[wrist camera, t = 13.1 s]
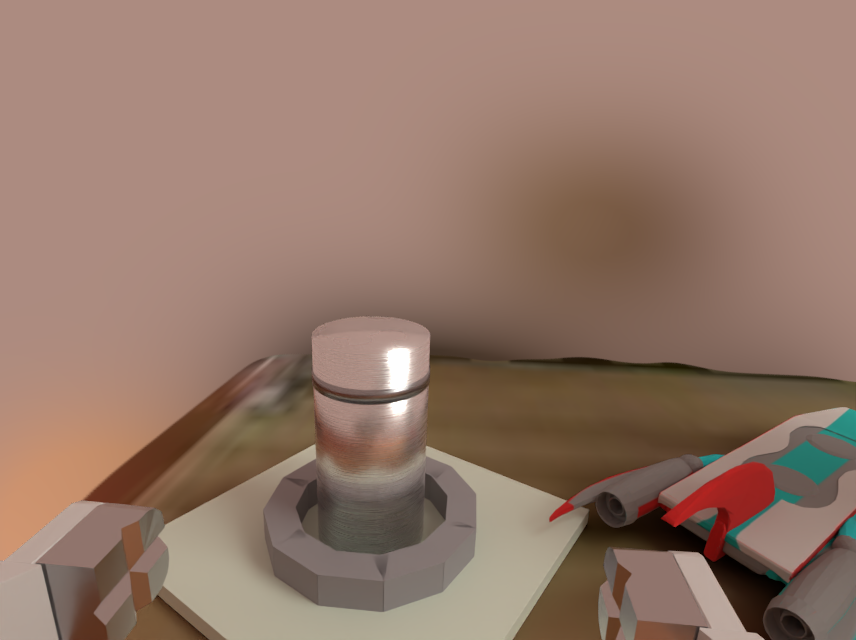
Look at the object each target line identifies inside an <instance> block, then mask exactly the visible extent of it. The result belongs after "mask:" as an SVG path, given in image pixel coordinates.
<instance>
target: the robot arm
mask: <svg viewBox="0 0 856 640" xmlns="http://www.w3.org/2000/svg"><path fill="white" fill-rule="evenodd" d="M164 528H165V525H164V520H163V515H162V512H161V511H159V510H158V509H156V508H151V507H142V506H133V505H123V504H114V503H102V502H92V501H78V502H75V503H72V504H71V505H69V507H67V508H66V509H65V510H64V511H63V512H61V513H60V514H59V515H58V516H57V517H55V518H54V519H53V520H52V521H50V522H49V523H48V524H47V525H46V526H45V527H43V528H42V529H41V530H40V531H39V532H38V533H36V534H35V535H34V536H33V537H32V538H30V539H29V540H28V541H27V542H26V543H24V544H23V545H22V546H21V547H20V548H19V549H17V550H16V551H15V552H14V553H13V554H12V555H10V556H9V557H8V558H7V559H6V560H4V561H0V640H124V639H125V638H126V637H127V635H128V634H129V633H130V631H131V630H132V629H133V627H134V626H135V625H136V623H137V622H136V611H138V610H139V609H141V608H143V607H144V606H146V605H148V604H149V603H151V602H152V601H153V600H154V598H155V597H156V596H157V594H158V593H159V591H160V590H161V588H162V586H163V583H164V581H165V578H166V575H167V573H168V566H169V552H168V547H167V546H166V544H165V543H164V542H163V541H162V540H161V539H160V537H159V535H160V533H161V532H162V530H163V529H164ZM603 566H604V569H605V573H606V576H607V579H608V580H607V581H606V582H605V583H604V584H602V585H601V586H600V593H599V601H598V613H599V626H600V633H601V637H602V640H765V639H763V638H762V637H761V636H759V635H758V634H757V633H750V632H746V630H745V628H744V627H743V625H742V623H741V621H740V620H739V618H738V616H737V614H736V613H735V611H734V609H733V607H732V606H731V604H730V602H729V600H728V599H727V597H726V595H725V593H724V592H723V590H722V588H721V586H720V585H719V583H718V581H717V579H716V578H715V576H714V574H713V572H712V571H711V569H710V567H709V565H708V564H707V562H706V560H705V558H704V557H703V556H702V555H701V554H699V553H698V552H683V551H667V552H666V551H656V550H644V549H631V548H618V547H608V549H607V551H606V553H605V559H604V565H603Z"/></svg>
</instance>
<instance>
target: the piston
mask: <svg viewBox="0 0 856 640" xmlns="http://www.w3.org/2000/svg"><path fill="white" fill-rule="evenodd" d="M429 350H430V333H429V331H428V330H427V329H426V328H425V327H424V326H422V325H420V324H417V323H415V322H412V321H408V320H404V319H398V318H391V317H378V316H377V317H376V316H369V317H368V316H366V317H352V318H344V319H339V320H334V321H331V322H328V323H325V324H323V325H320V326H319V327H317V328H316V329H315V330H314V331H313V332H312V357H313V365H312V384H313V387H314V414H315V443H316V472H317V501H318V529H319V541H320V542H322V543H324V544H325V545H327V546H329V547H330V548H332V549H334V550H335V551H344V552H355V553H366V554H377V555H382V554H385V553H389V552H392V551H396V550H399V549H402V548H406V547H409V546H413V545H416V544H420V542H421V540H422V537H423V525H424V496H425V467H426V438H427V409H428V385H429V382H430V365H429Z"/></svg>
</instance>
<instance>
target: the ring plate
mask: <svg viewBox="0 0 856 640" xmlns="http://www.w3.org/2000/svg"><path fill="white" fill-rule="evenodd" d="M565 502H566V500H563V499H561V498H558V497H556V496H553V495H551V494H548V493H546V492H543V491H540V490H538V489H535V488H533V487H530V486H528V485H525V484H523V483H520V482H518V481H515V480H512V479H510V478H507V477H505V476H502V475H500V474H497V473H495V472H492V471H490V470H487V469H484V468H482V467H479V466H477V465H474V464H472V463H469V462H467V461H464V460H462V459H459V458H456V457H454V456H451V455H449V454H446V453H444V452H441V451H439V450H436V449H434V448H431V447H428V446H426V467H425V496H424V525H423V537H422V540H421V542H420V544H416V545H413V546H409V547H406V548H402V549H399V550H396V551H392V552H389V553H385V554H382V555H377V554H366V553H355V552H344V551H335V550H334V549H332V548H330V547H329V546H327V545H325V544H324V543H322V542H320V541H319V529H318V501H317V472H316V444H314V445H312V446H311V447H309V448H307V449H305V450H303V451H301V452H299V453H298V454H296V455H294V456H292V457H290V458H288V459H286V460H285V461H283V462H281V463H279V464H277V465H275V466H273V467H272V468H270V469H268V470H266V471H264V472H262V473H260V474H259V475H257V476H255V477H253V478H251V479H249V480H247V481H246V482H244V483H242V484H240V485H238V486H236V487H234V488H233V489H231V490H229V491H227V492H225V493H223V494H221V495H220V496H218V497H216V498H214V499H212V500H210V501H208V502H207V503H205V504H203V505H201V506H199V507H197V508H195V509H194V510H192V511H190V512H188V513H186V514H184V515H182V516H181V517H179V518H177V519H175V520H173V521H171V522H169V523H168V524H166V525H165V528H164V529H163V530H162V532H161V533H160V535H159V537H160V539H161V540H162V541H163V542H164V543H165V544H166V546H167V547H168V552H169V566H168V573H167V575H166V578H165V581H164V583H163V586H162V588H161V590H160V591H159V593H158V594H157V595H158V596H159V597H160V598H162V599H163V600H164V601H165V602H166V603H167V604H169V605H170V606H171V607H172V608H173V609H174V610H175V611H177V612H178V613H179V614H180V615H181V616H182V617H183V618H185V619H186V620H187V621H188V622H189V623H190V624H192V625H193V626H194V627H195V628H196V629H197V630H198V631H200V632H201V633H202V634H203V635H204V636H205V637H206V638H208V639H209V640H513V638H514V637H515V635H516V633H517V632H518V630H519V629H520V627H521V626H522V624H523V623H524V621H525V619H526V618H527V616H528V615H529V613H530V612H531V610H532V609H533V607H534V605H535V604H536V602H537V601H538V599H539V598H540V596H541V595H542V593H543V591H544V590H545V588H546V587H547V585H548V584H549V582H550V581H551V579H552V577H553V576H554V574H555V573H556V571H557V570H558V568H559V567H560V565H561V563H562V562H563V560H564V559H565V557H566V556H567V554H568V553H569V551H570V549H571V548H572V546H573V545H574V543H575V542H576V540H577V539H578V537H579V535H580V534H581V532H582V531H583V529H584V528H585V526H586V525H587V523H588V517H589V509H586V508H584V507H579V508H576V509H574V510H572V511H570V512H568V513H566V514H564V515H561V516H560V517H558V518H556V519H555V520H553V521H552V522H549V518H550V516H551V515H552V514H553V512H554V511H555V510H556V509H558V508H559V507H560V506H561V505H563V504H564V503H565Z"/></svg>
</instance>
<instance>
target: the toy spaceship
mask: <svg viewBox="0 0 856 640" xmlns="http://www.w3.org/2000/svg"><path fill="white" fill-rule="evenodd" d="M593 502H596V503H595V506H596V509H597V513H598V514H599V516H600V517H601V519H602V520H603V521H604V522H605V523H606V524H607V525H609V526H611V527H615V528H618V527H622V526H626V525H629V524H632V523H633V522H635V520H636V519H638V518H640V517H642V516H644V515H646V514H648V513H650V512H651V511H653V510H655V509H657V508H658V507H661V508H662V509H664V510H665V511H666V512H667V513H666V514H665V515H664V516H663V517H662V518H661V519H663V520H664V521H666V522H667V523H669V524H671V525H672V526H674V527H676V526H678V525H679V524H680V525H682V526H683V527H685V528H686V529H688V530H689V531H691V532H692V533H694V534H696V535H697V536H699V537H700V538H702V539H703V540H705V541H707V543H706V546H705V549H704V555H705V556H706V557H707V558H708V559H710V560H711V561H717V560H718V559H720V558H721V557H723V556H724V555H726V554H727V555H728V556H730V557H732V558H733V559H735V560H736V561H738V562H739V563H741V564H743V565H744V566H746V567H747V568H749V569H750V570H752V571H754V572H755V573H757V574H762V575H767V576H768V577H769V578H771V579H773V580H778V581H781V582H783V583H784V584H786V587H785V588H784V589H783V590H782V591H781V592H780V593H779V595H778V596H776V597H775V598H773V599H772V600H771V601H770V603H769V605H768V607H767V609H766V611H765V612H764V616H763V624H764V627H765V630H766V632H767V634H768V635H769V637H770V638H771V640H856V411H854V410H851V409H849V408H846V407H841V408H835V409H829V410H824V411H818V412H813V413H807V414H802V415H797V416H793V417H792V418H790V419H788V420H786V421H785V422H783V423H781V424H779V425H778V426H776V427H774V428H772V429H770V430H769V431H767V432H765V433H763V434H762V435H760V436H758V437H756V438H755V439H753V440H751V441H749V442H747V443H746V444H744V445H742V446H740V447H739V448H737V449H735V450H733V451H732V452H730V453H728V454H726V455H719V454H713V455H708V456H703V457H696V456H694V455H691V454H685V455H682V456H681V457H679V458H673V459H669V460H666V461H662V462H659V463H656V464H653V465H650V466H646V467H642V468H638V469H634V470H630V471H627V472H624V473H620V474H617V475H614V476H611V477H608V478H606V479H603V480H601V481H599V482H597V483H595V484H592V485H590V486H588V487H587V488H585V489H584V490H582V491H581V492H579V493H577V494H576V495H574V496H573V497H571V498H570V499H569V500H568V501H566V502H565V503H564V504H563V505H561V506H560V507H559V508H558V509H556V510H555V511H554V512H553V514H552V515H551V516H550V518H549V522H552V521H553V520H555V519H556V518H558V517H560V516H561V515H564V514H566V513H568V512H570V511H572V510H574V509H576V508H579V507H581V506H584V505H587V504H590V503H593Z"/></svg>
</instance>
